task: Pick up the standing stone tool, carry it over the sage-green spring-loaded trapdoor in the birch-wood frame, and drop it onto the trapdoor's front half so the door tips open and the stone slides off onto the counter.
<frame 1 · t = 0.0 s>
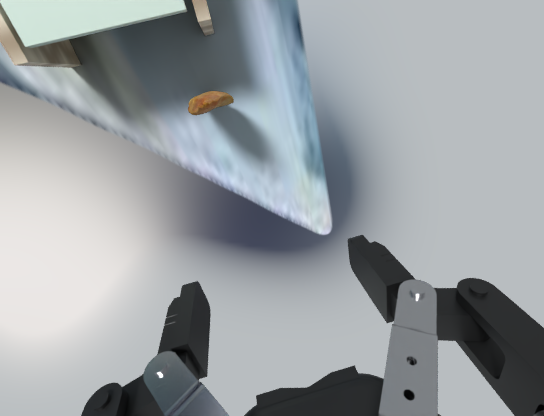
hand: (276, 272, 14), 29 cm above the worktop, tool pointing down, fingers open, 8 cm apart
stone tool: (213, 97, 36), on the worktop
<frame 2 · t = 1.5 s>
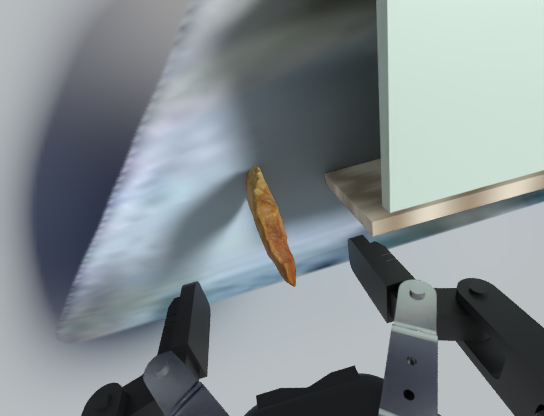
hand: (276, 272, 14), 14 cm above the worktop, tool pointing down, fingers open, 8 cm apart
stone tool: (254, 180, 26), on the worktop
trapdoor: (508, 67, 15), point 10 cm above the worktop, hinge at 0.0°
trapdoor frame: (400, 70, 24), on the worktop
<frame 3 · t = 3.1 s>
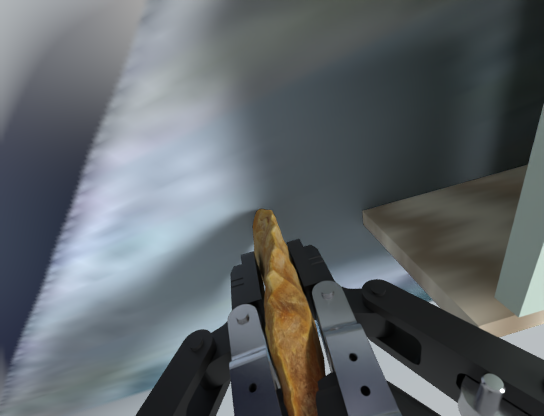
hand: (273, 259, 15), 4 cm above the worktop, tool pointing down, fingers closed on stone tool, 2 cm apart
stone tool: (265, 221, 19), on the worktop, touching gripper
trapdoor frame: (481, 66, 16), on the worktop
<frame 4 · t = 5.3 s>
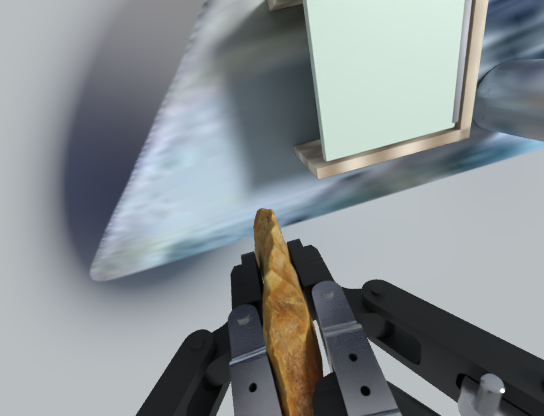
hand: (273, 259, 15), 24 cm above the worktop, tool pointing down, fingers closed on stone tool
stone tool: (266, 220, 19), point 20 cm above the worktop, touching gripper
trapdoor: (391, 68, 25), point 10 cm above the worktop, hinge at 0.0°
trapdoor frame: (344, 70, 33), on the worktop
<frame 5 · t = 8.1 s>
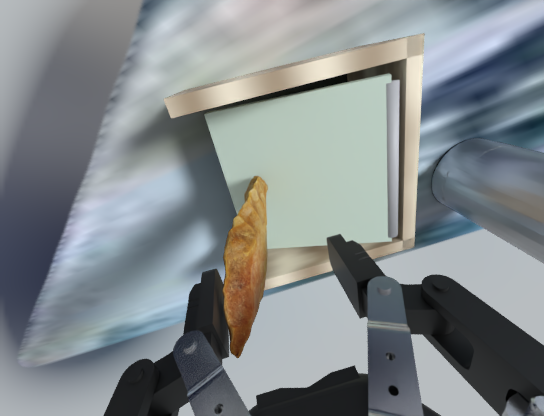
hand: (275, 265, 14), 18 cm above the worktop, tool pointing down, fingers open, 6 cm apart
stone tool: (261, 186, 24), point 7 cm above the worktop, touching gripper, trapdoor
trapdoor: (307, 179, 23), point 8 cm above the worktop, hinge at -20.0°, touching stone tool
trapdoor frame: (282, 156, 30), on the worktop
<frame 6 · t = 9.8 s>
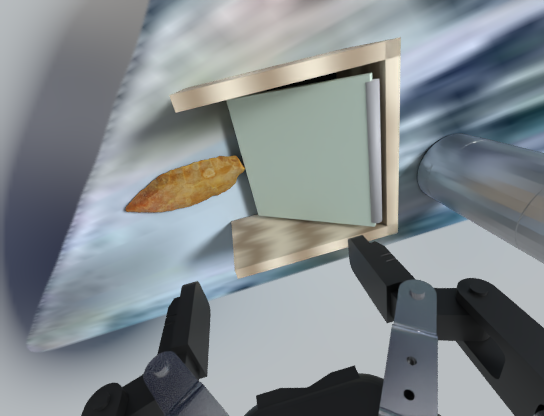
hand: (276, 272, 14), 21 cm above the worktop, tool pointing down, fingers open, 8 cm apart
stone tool: (245, 164, 31), point 1 cm above the worktop, touching trapdoor
trapdoor: (304, 160, 27), point 6 cm above the worktop, hinge at -38.3°, touching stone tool
trapdoor frame: (277, 150, 32), on the worktop
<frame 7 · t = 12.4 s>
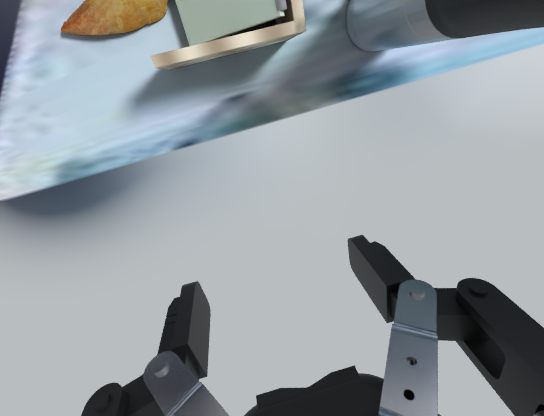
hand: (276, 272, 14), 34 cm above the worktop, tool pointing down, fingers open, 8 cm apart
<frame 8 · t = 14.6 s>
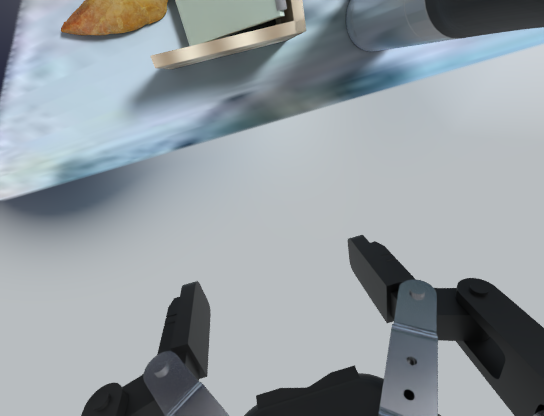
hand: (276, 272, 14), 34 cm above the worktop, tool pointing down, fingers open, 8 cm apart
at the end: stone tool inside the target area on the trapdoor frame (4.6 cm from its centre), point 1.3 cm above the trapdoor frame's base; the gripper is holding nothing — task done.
